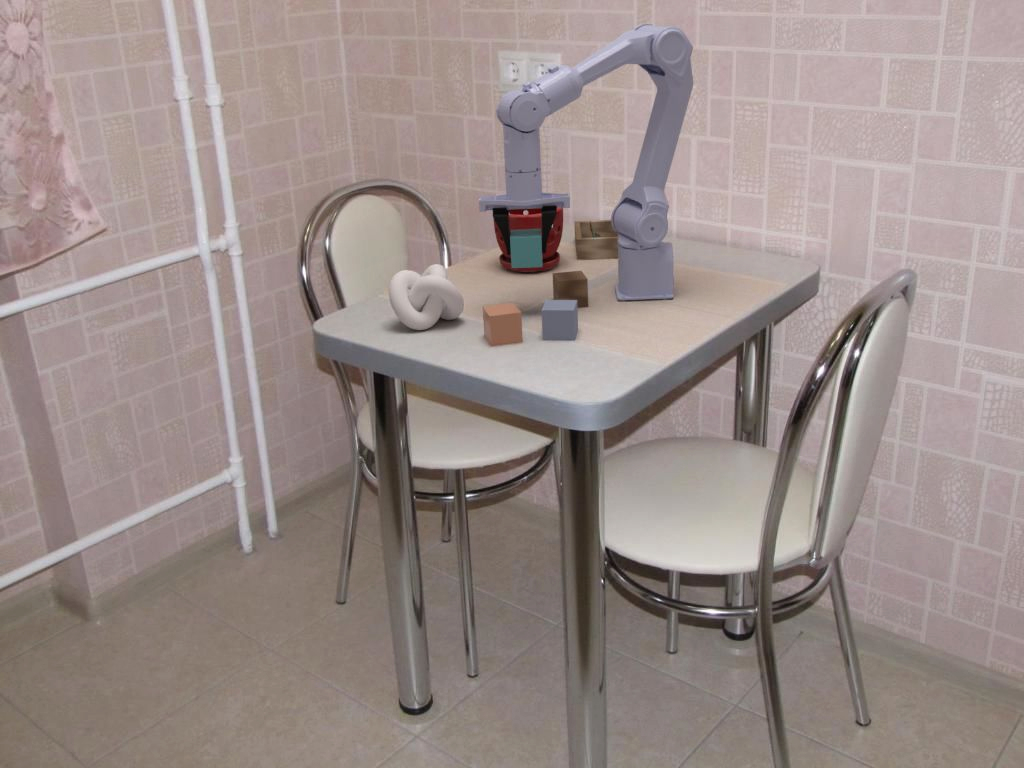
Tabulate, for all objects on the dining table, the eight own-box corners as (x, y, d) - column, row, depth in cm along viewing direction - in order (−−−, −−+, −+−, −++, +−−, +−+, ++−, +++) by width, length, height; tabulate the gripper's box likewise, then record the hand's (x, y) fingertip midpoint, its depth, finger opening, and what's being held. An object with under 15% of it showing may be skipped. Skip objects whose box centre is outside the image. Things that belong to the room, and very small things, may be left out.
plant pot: (482, 267, 203) (478, 205, 198) (533, 253, 211) (531, 193, 206) (527, 281, 194) (524, 216, 189) (579, 265, 201) (577, 203, 197)
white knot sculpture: (478, 313, 178) (475, 262, 175) (447, 338, 168) (443, 284, 165) (418, 308, 182) (413, 258, 179) (384, 332, 172) (379, 279, 169)
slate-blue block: (578, 329, 169) (577, 300, 167) (574, 341, 164) (573, 310, 162) (546, 329, 170) (545, 299, 168) (542, 340, 165) (541, 310, 163)
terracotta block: (514, 332, 169) (513, 302, 167) (522, 342, 165) (521, 312, 163) (484, 336, 168) (482, 306, 166) (491, 346, 164) (489, 316, 162)
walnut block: (581, 298, 183) (581, 270, 181) (588, 307, 179) (587, 278, 177) (553, 301, 183) (552, 273, 181) (559, 310, 178) (558, 281, 176)
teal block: (542, 258, 176) (541, 228, 174) (542, 267, 171) (541, 236, 169) (512, 259, 176) (510, 230, 174) (511, 268, 172) (510, 238, 170)
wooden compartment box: (643, 237, 217) (643, 218, 215) (650, 257, 204) (650, 236, 202) (575, 240, 217) (574, 221, 216) (577, 259, 204) (576, 239, 203)
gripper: (568, 162, 171) (570, 244, 177) (478, 166, 172) (483, 247, 177) (569, 171, 165) (571, 255, 170) (476, 175, 165) (481, 259, 171)
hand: (526, 252), depth 173 cm, fingers closed on teal block, 5 cm apart
